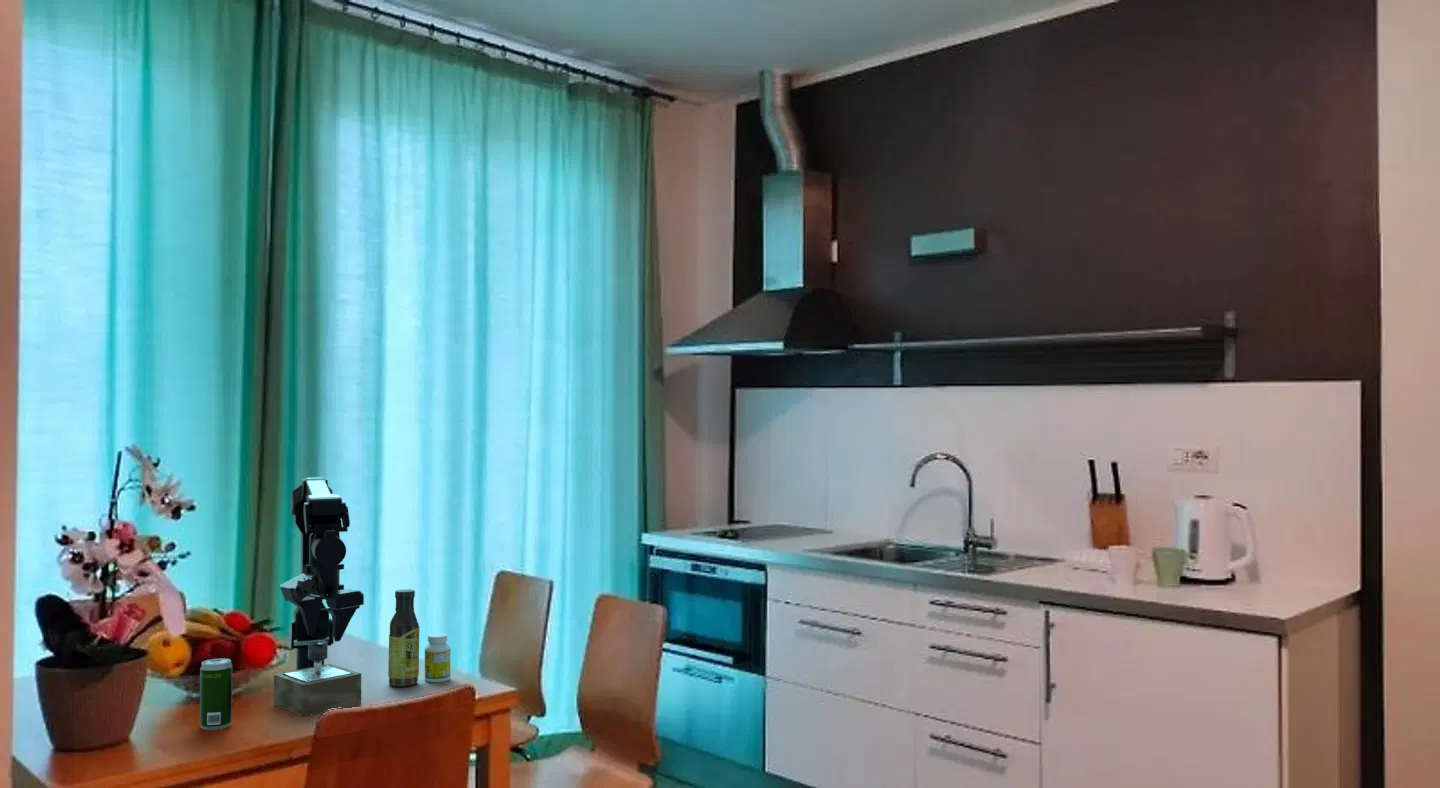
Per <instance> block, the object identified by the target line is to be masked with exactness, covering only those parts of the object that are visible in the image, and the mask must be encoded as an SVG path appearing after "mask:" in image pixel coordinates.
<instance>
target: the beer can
mask: <svg viewBox="0 0 1440 788" xmlns="http://www.w3.org/2000/svg"><path fill="white" fill-rule="evenodd" d="M199 671H200V672H199V673H200V674H199V677H200V678H199V688H200V689H199V725H200V727H201V729H202V730H203V729H204V731H219V730H218V729H220V730H223V729H222V728H224V729H226V728H225V727H227V728H229V727H230V726H231V724H232V722H233V664H232V660H231V659H230V658H212V659H207V660H204V661H202V662H201V667H200V668H199ZM229 725H230V726H229ZM228 726H229V727H228Z"/></svg>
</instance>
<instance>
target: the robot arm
mask: <svg viewBox="0 0 1440 788" xmlns="http://www.w3.org/2000/svg"><path fill="white" fill-rule="evenodd" d="M328 481H329V480H328V478H325V477H306V478H304V479H302V480H301V484H300V485H299V486H298V487H297V488H295V489H294V490H292V493H291V496H290V497H291V498H290V515H291V516H293V523H294V524H295V526H296V528H297V529H298V531H299V532H300V534H301V536H300V537H301V540H300V542H301V543H300V546H301V549H300V552H301V553H300V555H301V560H300V561H301V562H300V564H301V565H300V566H301V567H300V570H301V571H300V572H301V573H300V574H299V575H297V576H295V577H293V578H291V579H289V580H287V581H285V582H283V583H281V584H280V585H279V587H280V590H281V593H282V596H283V599H284V601H285V602H289V603H291V604H293V605H294V606H296V608H295V609H294V610H293V620H290V624H289V633H288V638H289V639H288V641H289V643H288V645H289V648H290V650H294V649H296V653H295V654H296V655H295V656H296V658H295V659H296V663H295V664H296V667H295V668H296V669H295V670H301V669H306V668H311V667H314V661H313V660H308V644H309V643H311V642H316V641H325V642H328V647H330V646H332V645H333V644H334V642H341V640H342V638H343V636H344V634H345V633H346V630H347V628H348V626H349V624H350V622H351V620H352V618H353V616H354V615H355V613H356V612H357V609H358V610H359V609H360V607H361V606H363V605H364V604H365V594H364V593H363V592H362V591H361V590H357V589H352V588H348V589H347V588H345V584H343V583H340V578H341V577H340V576H341V575H340V574H341V573H340V570H344V569H345V564H344V563H341V562H343V560H344V559H345V557H346V556H347V555H346V554H347V546H346V543H345V542H344V541H343V539H341V537H340V533H344V532H345V533H346V532H348V531H349V530H348V529H349V528H350V524H351V522H350V514H349V508H348V506H347V504H346V501H344V500H343V499H342V497H341V495H339V494H334V493H333V489H332V488H331V487H330V486H329V482H328ZM323 600H324V601H325V604H326V605H327V607H326V606H325V604H324V601H323ZM330 615H331V617H330ZM322 665H325V659H324V660H322ZM295 670H292V671H295Z"/></svg>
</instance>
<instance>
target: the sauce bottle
mask: <svg viewBox="0 0 1440 788" xmlns="http://www.w3.org/2000/svg"><path fill="white" fill-rule="evenodd" d="M415 597H416V591H415V589H409V588H408V589H407V588H406V589H397V590H395V591H394V598H395V608H394V609H395V613H394V615H393V616H392V618H391V620H390V622H389V635H388V665H387V667H388V672H387V673H388V674H387V675H388V684H389V685H390V686H391V687H395V688H396V687H397V688H398V687H399V688H403V687H410V686H414V685H416V684H417V683H418V680H419V676H420V675H419V673H420V625H419V622H418V618H417V616H416V613H415V606H414V605H415V604H414V603H415V600H414V599H415Z"/></svg>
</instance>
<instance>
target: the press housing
mask: <svg viewBox="0 0 1440 788" xmlns="http://www.w3.org/2000/svg"><path fill="white" fill-rule="evenodd" d="M323 666H331V667H334V668H337V669H340V670H343V671H346V672H349V673H351V674H350V675H345V676H340V677H335V678H330V679H325V680H320V681H315V682H310V683H304V682H302V681H299V680H296V679H293V678H290V677H287V676H285V675H284V674H287V673H292V672H297V671H302V670H307V669H313V668H314V667H311V668H306V669H301V670H296V669H295V671H293V670H289V671H284V672H282V673H280V672H279V673H277V674H276V673H275V674H274V675H273V689H274V690H273V705H274V704H275V705H274V706H276V705H277V706H276V707H278V706H280V707H279V708H281V707H283V708H286V709H288V710H291V711H293V712H296V713H298V714H297V715H299V714H301V715H303V716H302V717H304V716H305V717H307V716H306V715H309V716H312V715H317V714H323V713H325V712H324V711H326V710H328V709H331V708H338V707H345V706H349V707H352V706H357V705H362V673H361V672H358V671H354V670H351V669H348V668H346V667H342V666H339V665H336V664H333V663H328V664H324V665H322V667H323ZM283 708H282V709H283ZM345 708H346V707H345ZM286 709H285V710H286ZM288 710H287V711H288ZM291 711H290V712H291ZM293 712H292V713H293ZM296 713H295V714H296ZM311 714H312V715H311ZM301 715H300V716H301Z"/></svg>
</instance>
